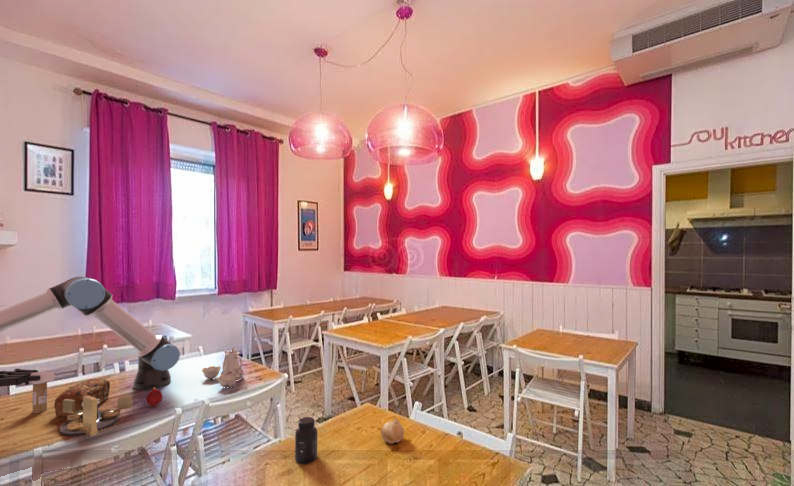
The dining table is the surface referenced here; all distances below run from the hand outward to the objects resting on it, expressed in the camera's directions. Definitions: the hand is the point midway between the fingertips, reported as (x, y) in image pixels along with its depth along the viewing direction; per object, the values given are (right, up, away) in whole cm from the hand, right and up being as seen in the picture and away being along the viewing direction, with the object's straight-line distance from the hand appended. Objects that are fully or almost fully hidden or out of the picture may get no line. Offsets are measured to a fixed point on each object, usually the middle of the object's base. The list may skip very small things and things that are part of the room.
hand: (52, 376), depth 129 cm
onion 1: (+17, -23, +28) cm, 40 cm away
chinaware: (+33, -23, +58) cm, 70 cm away
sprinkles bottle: (-26, -22, +23) cm, 42 cm away
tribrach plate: (+4, -22, +13) cm, 26 cm away
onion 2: (+116, -23, +2) cm, 118 cm away
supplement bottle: (+89, -23, -10) cm, 92 cm away
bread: (-12, -23, +27) cm, 38 cm away
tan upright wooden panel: (+7, -20, +4) cm, 22 cm away
